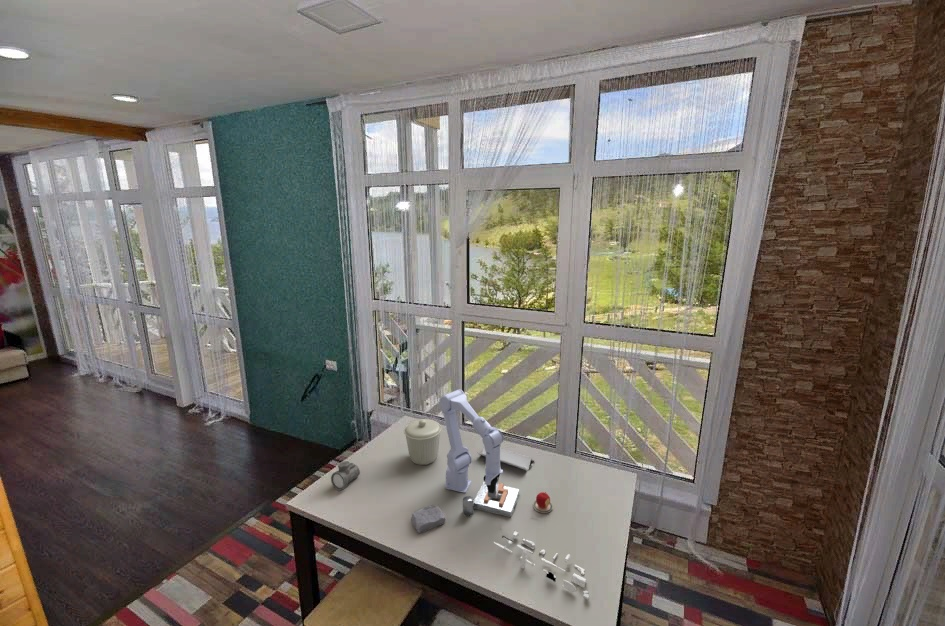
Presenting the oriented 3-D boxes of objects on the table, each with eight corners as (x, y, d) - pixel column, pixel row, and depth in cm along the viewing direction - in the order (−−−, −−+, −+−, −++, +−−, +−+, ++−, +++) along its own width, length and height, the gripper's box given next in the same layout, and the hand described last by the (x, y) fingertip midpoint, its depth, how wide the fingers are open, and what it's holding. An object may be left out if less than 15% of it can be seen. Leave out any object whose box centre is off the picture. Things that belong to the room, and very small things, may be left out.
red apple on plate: (553, 501, 171) (554, 488, 169) (551, 515, 163) (552, 501, 162) (534, 498, 173) (534, 485, 171) (531, 511, 165) (532, 498, 164)
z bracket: (485, 458, 208) (489, 446, 210) (531, 473, 195) (534, 460, 198) (476, 452, 198) (481, 439, 201) (524, 468, 186) (528, 454, 189)
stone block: (409, 522, 163) (418, 535, 154) (408, 511, 162) (417, 523, 153) (437, 513, 168) (447, 525, 159) (436, 502, 168) (446, 513, 159)
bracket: (483, 501, 167) (483, 499, 167) (492, 483, 178) (492, 481, 178) (502, 506, 165) (502, 503, 165) (510, 487, 176) (510, 485, 176)
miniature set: (490, 551, 146) (506, 534, 156) (586, 607, 127) (597, 583, 138) (492, 535, 145) (508, 519, 155) (589, 589, 126) (600, 566, 137)
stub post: (461, 514, 164) (461, 502, 162) (465, 507, 168) (464, 494, 166) (471, 517, 162) (471, 504, 161) (475, 509, 166) (475, 497, 165)
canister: (397, 461, 198) (395, 422, 193) (422, 444, 213) (420, 407, 207) (425, 475, 188) (424, 434, 183) (449, 455, 203) (448, 417, 197)
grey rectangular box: (487, 496, 164) (487, 479, 162) (490, 491, 167) (490, 474, 165) (495, 498, 162) (495, 481, 160) (498, 493, 166) (498, 476, 163)
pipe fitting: (344, 492, 176) (342, 470, 175) (330, 488, 180) (329, 466, 179) (363, 479, 187) (362, 458, 186) (350, 475, 191) (349, 455, 189)
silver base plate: (473, 507, 168) (473, 502, 167) (483, 486, 180) (483, 481, 180) (510, 517, 162) (511, 511, 162) (519, 494, 175) (519, 489, 175)
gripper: (497, 472, 152) (497, 503, 156) (507, 451, 166) (507, 480, 169) (479, 468, 155) (479, 499, 158) (491, 448, 168) (490, 476, 171)
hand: (492, 489), depth 164 cm, fingers closed on grey rectangular box, 3 cm apart
